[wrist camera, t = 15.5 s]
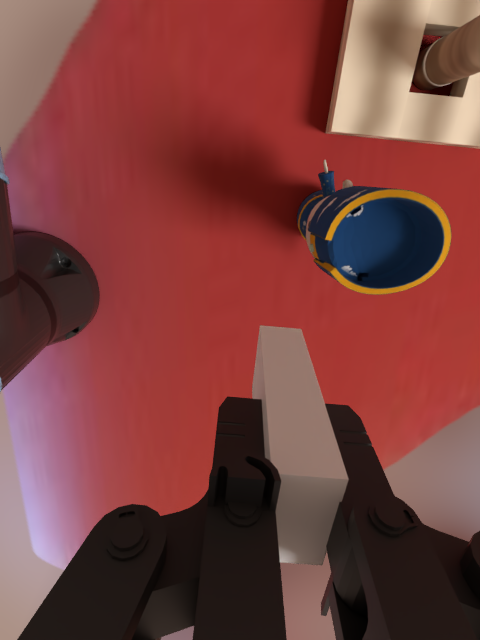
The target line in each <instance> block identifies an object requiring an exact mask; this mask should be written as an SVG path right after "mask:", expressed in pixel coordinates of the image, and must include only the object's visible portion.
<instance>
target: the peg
mask: <svg viewBox="0 0 480 640" xmlns="http://www.w3.org/2000/svg"><path fill="white" fill-rule="evenodd" d="M479 72H480V15H479V16H477V17H476V18H474V19H472V20H471V21H469V22H468V23H466V24H464V25H463V26H461V27H459V28H458V29H456V30H454V31H453V32H451V33H449V34H448V35H446V36H444V37H442V38H440V39H438V40H437V41H435V42H434V43H433V44H431V45H430V46H428V47H426V48H425V49H423V50H422V51H421V52H420V53H419V54H418V58H417V62H416V66H415V70H414V74H413V78H412V80H413V83H414V84H415V86H416V87H417V88H419V89H421V90H432V89H435V88H438V87H440V86H445V85H447V84H450V83H452V82H454V81H457V80H460V79H463V78H465V77H468V76H471V75H474V74H476V73H479Z"/></svg>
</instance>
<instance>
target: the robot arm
mask: <svg viewBox="0 0 480 640" xmlns="http://www.w3.org/2000/svg"><path fill="white" fill-rule="evenodd" d="M7 184H9V179H8V177H7V176H6V175H5V171H4V165H3V160H2V154H1V149H0V392H1V390H2V389H3V388H4V387H5V386H6V385H7V384H8V383H9V382H10V381H11V380H12V379H13V378H14V377H15V376H16V375H17V374H18V373H19V372H20V371H21V370H22V369H23V368H24V367H25V366H26V365H27V364H29V363H30V362H31V361H32V360H33V359H34V358H35V357H36V356H37V355H38V354H39V353H40V352H41V351H42V350H43V349H44V348H45V347H46V346H49V345H52V344H55V343H58V342H61V341H64V340H67V339H69V338H71V337H73V336H75V335H77V334H78V333H79V332H81V331H82V330H83V329H84V328H85V327H86V326H87V325H88V324H89V323H90V322H91V320H92V319H93V317H94V316H95V314H96V312H97V309H98V305H99V287H98V282H97V279H96V277H95V274H94V272H93V270H92V268H91V267H90V265H89V264H88V262H87V261H86V260H85V258H84V257H83V256H82V255H81V254H80V253H79V252H78V251H77V250H76V249H74V248H73V247H72V246H71V245H69V244H68V243H66V242H64V241H63V240H61V239H59V238H56V237H54V236H51V235H48V234H44V233H39V232H22V233H18V234H14V235H13V227H12V220H11V212H10V205H9V197H8V190H7ZM252 396H253V399H250V398H238V397H227V398H226V399H225V400H224V402H223V403H222V404H221V406H220V407H219V412H218V421H217V430H216V439H215V448H214V457H213V466H212V470H211V473H210V477H209V489H208V491H207V492H206V494H205V496H204V497H203V498H202V499H201V500H200V501H199V502H198V503H197V504H195V505H193V506H192V507H190V508H188V509H185V510H183V511H180V512H176V513H172V514H168V515H164V516H160V515H159V514H158V512H157V511H155V510H153V509H151V508H149V507H148V506H145V505H136V504H131V505H127V506H122V507H118V508H117V509H115V510H113V511H111V512H110V513H108V514H106V515H105V516H104V517H103V518H102V519H101V520H100V521H99V522H98V523H97V524H96V525H95V526H94V528H93V529H92V531H91V532H90V534H89V535H88V536H87V538H86V539H85V541H84V542H83V544H82V545H81V547H80V548H79V550H78V551H77V553H76V554H75V556H74V557H73V559H72V560H71V561H70V563H69V564H68V566H67V567H66V569H65V570H64V572H63V573H62V575H61V576H60V578H59V579H58V581H57V582H56V584H55V585H54V586H53V588H52V589H51V591H50V592H49V594H48V595H47V597H46V598H45V600H44V601H43V603H42V604H41V606H40V607H39V609H38V610H37V611H36V613H35V614H34V616H33V617H32V619H31V620H30V622H29V623H28V625H27V626H26V628H25V629H24V631H23V632H22V634H21V635H20V636H19V638H18V639H17V640H161V637H163V636H165V635H168V634H171V633H174V632H177V631H180V630H182V629H185V628H188V627H190V626H194V633H193V640H286V628H285V616H284V606H283V593H282V581H281V569H280V562H283V563H297V564H311V565H322V564H323V561H324V558H325V555H326V552H327V553H328V558H329V563H330V568H331V575H330V578H329V581H328V584H327V587H326V590H325V594H324V597H323V599H322V602H321V615H324V616H326V615H327V612H328V609H329V606H330V609H331V614H332V620H333V625H334V630H335V636H336V640H480V531H479V532H477V533H475V534H474V535H473V536H472V538H471V540H470V542H467V541H465V540H462V539H459V538H457V537H454V536H451V535H448V534H445V533H443V532H440V531H437V530H435V529H433V528H430V527H428V526H426V525H424V524H423V523H422V522H421V521H420V519H419V518H418V516H417V515H416V514H415V512H414V510H413V509H412V508H410V507H409V506H408V505H407V504H405V502H404V501H402V500H401V499H399V498H397V497H395V496H394V494H393V492H392V490H391V487H390V485H389V483H388V480H387V478H386V476H385V473H384V471H383V469H382V466H381V464H380V462H379V460H378V457H377V455H376V453H375V450H374V448H373V447H372V443H371V441H370V439H369V437H368V435H367V434H366V433H367V432H366V430H365V427H364V425H363V423H362V420H361V418H360V417H359V416H358V415H357V414H356V413H355V412H354V411H353V410H352V409H351V408H350V407H349V406H348V405H336V404H325V403H324V400H323V397H322V394H321V390H320V387H319V384H318V381H317V378H316V375H315V371H314V368H313V365H312V362H311V359H310V356H309V352H308V349H307V346H306V343H305V340H304V337H303V333H302V330H301V329H295V328H283V327H272V326H261V325H260V330H259V338H258V346H257V354H256V362H255V370H254V378H253V386H252Z"/></svg>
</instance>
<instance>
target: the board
mask: <svg viewBox="0 0 480 640" xmlns="http://www.w3.org/2000/svg"><path fill="white" fill-rule="evenodd" d="M479 15H480V0H348V3H347V9H346V15H345V21H344V27H343V33H342V39H341V45H340V51H339V56H338V62H337V68H336V74H335V80H334V86H333V92H332V98H331V104H330V110H329V115H328V121H327V127H326V133H329V134H339V135H349V136H359V137H369V138H379V139H389V140H399V141H409V142H419V143H429V144H439V145H449V146H459V147H468V148H478V149H480V72H479V73H476V74H474V75H471V76H468V77H465V78H463V79H460V80H457V81H454V82H453V85H452V89H451V92H450V96H442V95H432V94H422V93H413V92H409V90H410V86H411V82H412V78H413V74H414V70H415V66H416V62H417V58H418V54H419V50H420V46H421V42H422V38H423V34H424V35H434V36H443V37H444V36H446V35H448V34H449V33H451V32H453V31H454V30H456V29H458V28H459V27H461V26H463V25H464V24H466V23H468V22H469V21H471V20H472V19H474V18H476V17H477V16H479Z"/></svg>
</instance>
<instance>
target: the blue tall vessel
mask: <svg viewBox="0 0 480 640" xmlns="http://www.w3.org/2000/svg"><path fill="white" fill-rule="evenodd" d="M324 170H325V172H322V173H319V174H318V176H319V179H320V182H321V187H322V190H319V191H316V192H314V193H312V194H310V195H309V196H308V197H307V198H306V199H305V200H304V201H303V202H302V203H301V205H300V207H299V210H298V213H297V225H298V228H299V231H300V233H301V235H302V236H303V238H304V239H305V240H306V241H307V244H308V247H309V250H310V252H311V254H312V255H313V257H314V258H315V259H314V260H313V261H314V262H315V263H316V265H317V266H318V267H319V268H320V269H322V270H323V271H324V272H326V273H327V274H328V275H330V276H331V277H333V278H334V279H335V280H337V281H338V282H339V283H341V284H342V285H344V286H345V287H347V288H349V289H351V290H353V291H356V292H359V293H364V294H375V295H379V294H390V293H396V292H400V291H404V290H407V289H409V288H412V287H415V286H417V285H418V284H420V283H422V282H424V281H425V280H427V279H428V278H430V277H431V276H432V275H433V274H434V273H435V272H436V271H437V270H438V269H439V268H440V266H441V265H442V264H443V262H444V261H445V258H446V256H447V254H448V252H449V248H450V244H451V226H450V223H449V220H448V217H447V216H446V214H445V212H444V211H443V209H442V208H441V207H440V206H439V205H438V204H437V203H436V202H434V201H433V200H432V199H430V198H428V197H426V196H424V195H422V194H420V193H416V192H413V191H409V190H402V189H391V188H378V187H365V186H353V184H352V182H351V181H350V180H345V181H343V189H341V190H338V191H337V192H335V187H334V171H328V167H327V164H326V160H324Z"/></svg>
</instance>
